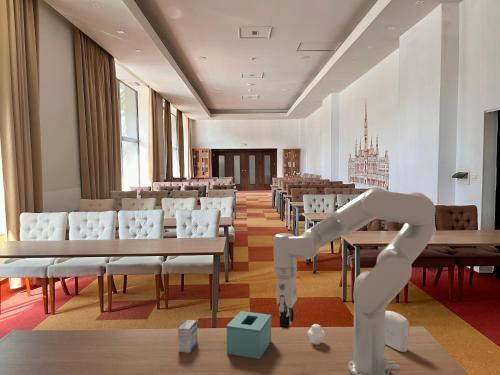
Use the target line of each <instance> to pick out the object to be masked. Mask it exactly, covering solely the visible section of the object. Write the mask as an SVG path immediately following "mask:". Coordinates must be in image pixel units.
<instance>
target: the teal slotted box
mask: <svg viewBox="0 0 500 375" xmlns="http://www.w3.org/2000/svg"><path fill="white" fill-rule="evenodd" d="M271 342H272V314H269V313H268V314H266V313H260V312H259V313H258V312H254V311H253V312H251V311H243V310H240V311H239V312H238V313H237V314H236V315H235V316H234V318H232V319H231V321H230V322H228V324H227V325H226V355H233V356H237V357H245V358H250V359H257V360H260V359H261V358H262V357H263V355H264V353H265V352H266V351H267V349H268V347H269V346H268V345H270V344H271ZM269 343H270V344H269ZM267 346H268V347H267ZM266 348H267V349H266Z"/></svg>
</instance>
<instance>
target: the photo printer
mask: <svg viewBox="0 0 500 375" xmlns="http://www.w3.org/2000/svg"><path fill="white" fill-rule="evenodd" d="M409 333H410V322H409V320H408V319H407V318H406V317H405V316H403V315H402V314H400V313H398V312H396V311H392V310H386V313H385V346H388V347H390V348H392V349H394V350H396V351H398V352H401V353H406V352H407V351H408V349H409V336H410V335H409Z"/></svg>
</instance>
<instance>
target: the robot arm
mask: <svg viewBox="0 0 500 375" xmlns="http://www.w3.org/2000/svg"><path fill="white" fill-rule="evenodd" d="M434 203H435V202H434V201H432V199H431V198H429V197H428V196H427V195H425V194H423V193H421V192H411V193H401V192H395V191H394V192H393V191H388V190H386V189H384V188H382V187H377V186H376V187H372V188H369V189H368V190H366V191H364V192H363V193H361V194H360V195H359V196H357V197H355V198H354V199H352V200H351V201H348V202H347V203H346V204H344V205H343V206H342V207H341V206H340V208H339V209H337V210H335V211H334V212H333V213H331V214H329V216H328V217H325V218H324V219H322V220H321V221H319V222H318V223H317V224H315V225H313V226H312V227H310V228H308V229H307V230H306V231H304V232H303V233H302V234H301V235H299V236H296V235H295V234H294V233H288V232H280V233H277V234H275V235H274V236H273V269H274V270H273V272H274V275H273V276H274V277H276V306H277V307H278V308H279V309H278V313H279V327H280V329H282V328H289V329H290V327H291V326H290V318H289V316H288V314H289V309H290V310H291V323H292V322H294V319H295V318H294V306H295V304H296V302H297V300H298V290H297V276H298V264H297V263H298V262H297V259H303V260H310V259H312V258H314V257H316V255H317V254H318V252H319V251H320V249H322V248H323V247H325V246H326V245H327V244H329V243H331V242H333V241H335V240H336V239H338V238H340V237H342V236H349V235H351V234H354V233H355V232H357V231H358V230H359V229H361V228H363V227H365V226H366V225H367V224H369V223H371V222H372V221H374V220H376V219H377V220H381V221H386V222H393V223H399V224H403V225H402V227H401V228H400V230H399V231H398V232H397V233H396V235H395V237H394V238H393V239H392V240H391V241H390V242H389V243H388V244H387V245H386V246H385V247H384V249H383V250H381V252H379V254H378V255H377V258H376V264H375V266H374V267H373V268H372V269H371V271H370V270H369V271H367V270H366V271H363V272H361V273H360V274H358V276H357V277H356V278H355V281H354V284H353V295H352V296H353V350H352V352H353V358H352V359H351V360H350V361H348V364H347V369H348V371H349V372H350V373H351V374H352V375H390V371H392V372H398V373H400V372H401V365H400V364H396V361H394V360H388V359H386V358H387V356H386V354H385V351H386V344H385V313H386V311H387V310H386V308H387V306H388V305H389V304H390V303H391V302H392V301H393V299H394V298H395V297H396V296H397V295H398V294H399V293H400V292H401V291H402V290H403V289H404V288H405V286H406V285H407V284H408V282H409V281H410V279H411V277H412V271H413V270H412V269H413V268H412V264H413V263H414V261H415V260H416V259H417V258H418V257H419V256H420V255H421V253H422V252H423V251H424V249H425V248H426V247H427V246H428V244H429V243H430V241H431V239H432V238H433V235H434V231H435V226H436V225H435V224H436V221H435V216H436V206H435V204H434ZM285 309H286V311H285Z"/></svg>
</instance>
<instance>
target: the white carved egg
mask: <svg viewBox="0 0 500 375" xmlns="http://www.w3.org/2000/svg"><path fill="white" fill-rule="evenodd" d="M307 335H308V338H309V340H310V342H311V344H313V345H317V346H318V345H320V344H321V343H322V342H323V340H324V338H325V335H326V332H325V331H324V329H323V328H322V326H321V325H320V324H319V323H314V324H312V325H311V327H310V329H309V330H307Z"/></svg>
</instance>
